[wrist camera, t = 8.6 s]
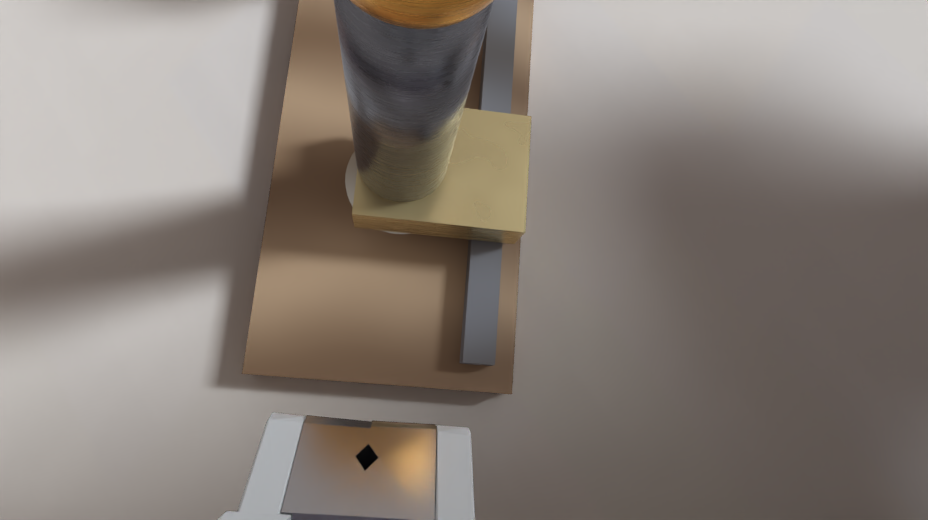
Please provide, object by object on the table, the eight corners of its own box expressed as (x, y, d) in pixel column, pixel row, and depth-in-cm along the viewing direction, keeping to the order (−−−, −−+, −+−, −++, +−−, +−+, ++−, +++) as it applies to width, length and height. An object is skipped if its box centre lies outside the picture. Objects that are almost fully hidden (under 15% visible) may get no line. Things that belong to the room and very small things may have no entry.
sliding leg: (510, 248, 23) (747, -13, 8) (345, 231, 22) (256, -91, 7) (516, 144, 24) (739, -269, 9) (358, 124, 23) (304, -360, 8)
